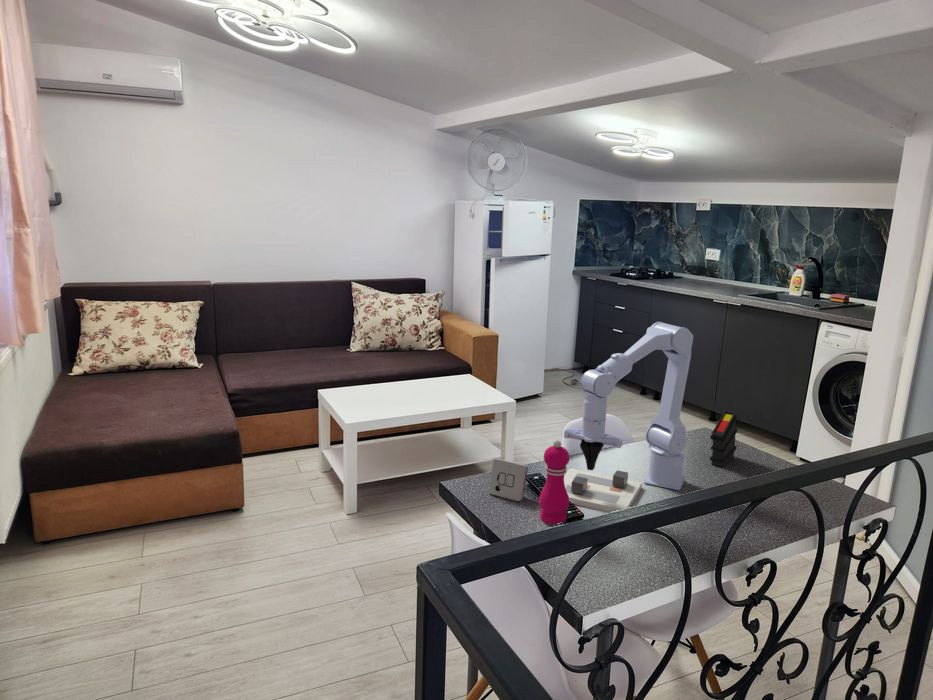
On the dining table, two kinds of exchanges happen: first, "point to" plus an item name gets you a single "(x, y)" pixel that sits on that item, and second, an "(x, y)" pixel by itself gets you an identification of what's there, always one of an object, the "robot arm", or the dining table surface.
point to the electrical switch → (508, 479)
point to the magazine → (724, 439)
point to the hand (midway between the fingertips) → (590, 468)
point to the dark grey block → (620, 479)
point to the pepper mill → (554, 485)
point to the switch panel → (601, 491)
